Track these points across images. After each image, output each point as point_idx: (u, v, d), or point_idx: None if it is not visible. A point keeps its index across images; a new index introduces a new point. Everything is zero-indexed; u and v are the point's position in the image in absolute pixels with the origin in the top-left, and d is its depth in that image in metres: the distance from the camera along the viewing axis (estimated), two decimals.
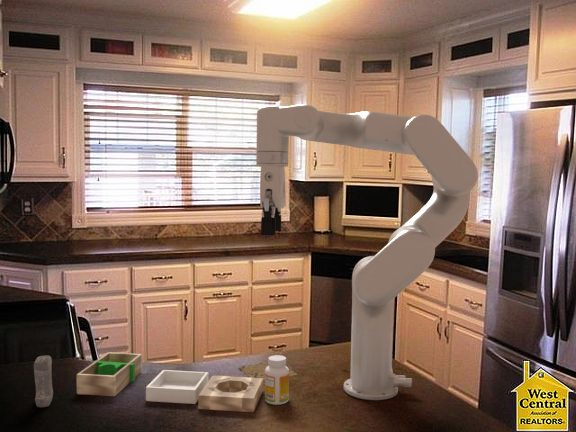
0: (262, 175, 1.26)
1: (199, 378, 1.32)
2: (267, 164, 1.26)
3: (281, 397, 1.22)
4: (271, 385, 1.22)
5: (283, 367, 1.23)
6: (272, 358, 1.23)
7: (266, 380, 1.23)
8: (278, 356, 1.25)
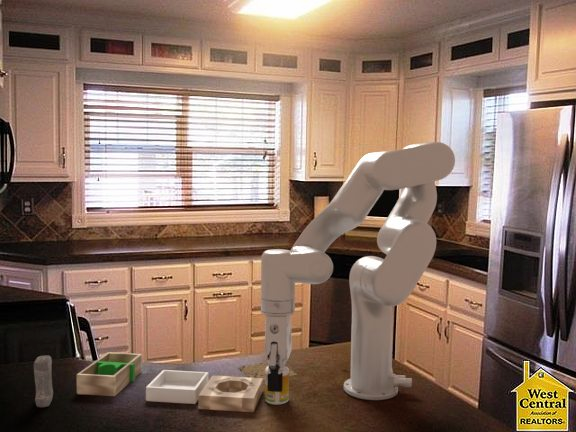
0: (267, 326, 1.19)
1: (199, 378, 1.32)
2: (272, 314, 1.19)
3: (281, 397, 1.22)
4: None
5: (283, 367, 1.23)
6: None
7: (266, 380, 1.23)
8: None
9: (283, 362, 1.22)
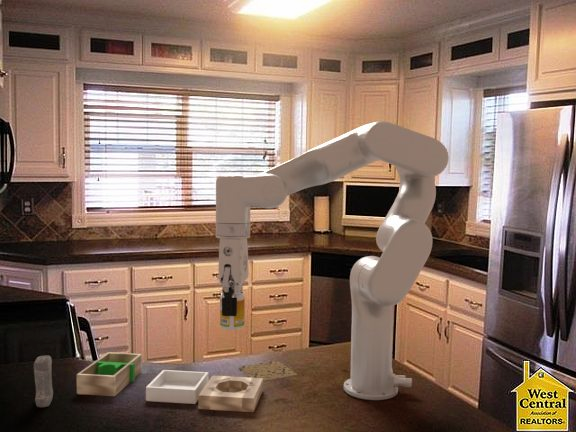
0: (221, 249, 1.18)
1: (199, 378, 1.32)
2: (226, 237, 1.19)
3: (235, 322, 1.21)
4: None
5: (238, 292, 1.22)
6: None
7: (221, 305, 1.22)
8: (233, 282, 1.24)
9: (238, 287, 1.21)
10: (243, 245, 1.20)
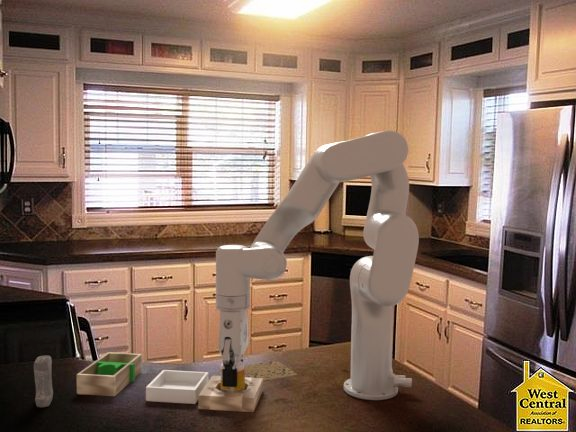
0: (221, 322, 1.19)
1: (199, 378, 1.32)
2: (226, 309, 1.20)
3: (235, 392, 1.22)
4: None
5: (238, 362, 1.23)
6: None
7: (221, 375, 1.23)
8: None
9: (238, 357, 1.23)
10: (243, 316, 1.21)
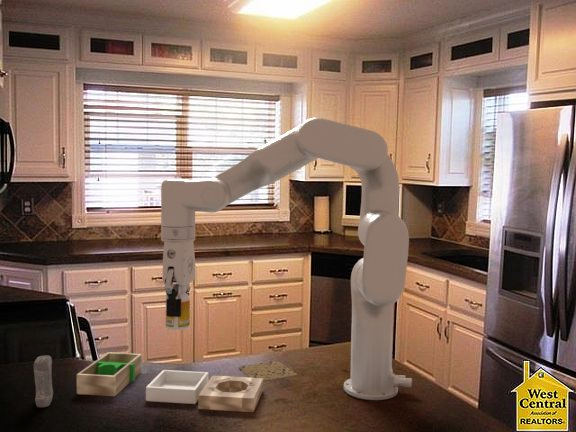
0: (164, 252, 1.21)
1: (199, 378, 1.32)
2: (170, 240, 1.22)
3: (179, 323, 1.24)
4: None
5: (183, 294, 1.25)
6: None
7: None
8: None
9: (182, 289, 1.25)
10: (187, 248, 1.24)
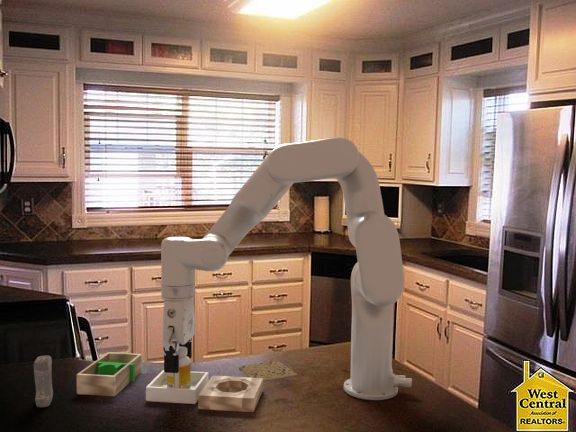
0: (165, 311, 1.22)
1: (199, 378, 1.32)
2: (170, 299, 1.23)
3: (180, 387, 1.25)
4: (171, 375, 1.25)
5: (183, 358, 1.26)
6: None
7: None
8: (180, 347, 1.28)
9: (183, 353, 1.26)
10: (187, 306, 1.25)
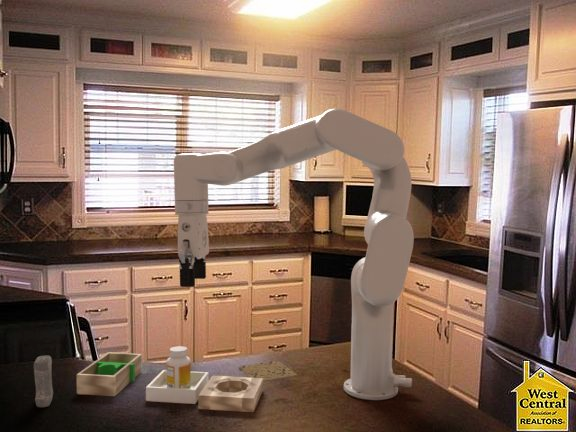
0: (179, 225, 1.23)
1: (199, 378, 1.32)
2: (184, 214, 1.23)
3: (180, 387, 1.25)
4: (171, 375, 1.25)
5: (183, 357, 1.26)
6: (173, 348, 1.27)
7: (167, 370, 1.26)
8: (180, 347, 1.28)
9: (183, 353, 1.26)
10: (201, 221, 1.25)
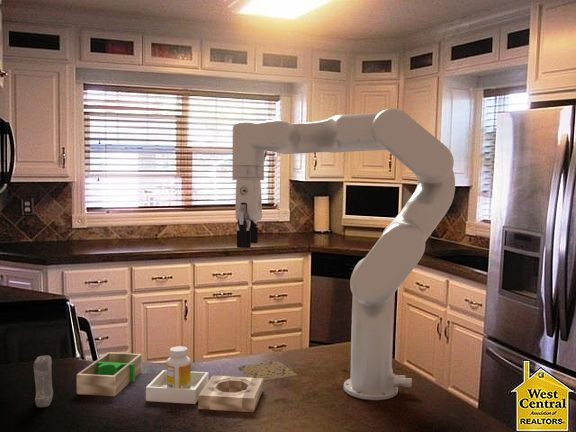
0: (237, 189, 1.29)
1: (199, 378, 1.32)
2: (242, 178, 1.29)
3: (180, 387, 1.25)
4: (171, 375, 1.25)
5: (183, 357, 1.26)
6: (173, 349, 1.27)
7: (167, 370, 1.26)
8: (180, 347, 1.28)
9: (183, 353, 1.26)
10: (258, 186, 1.31)
